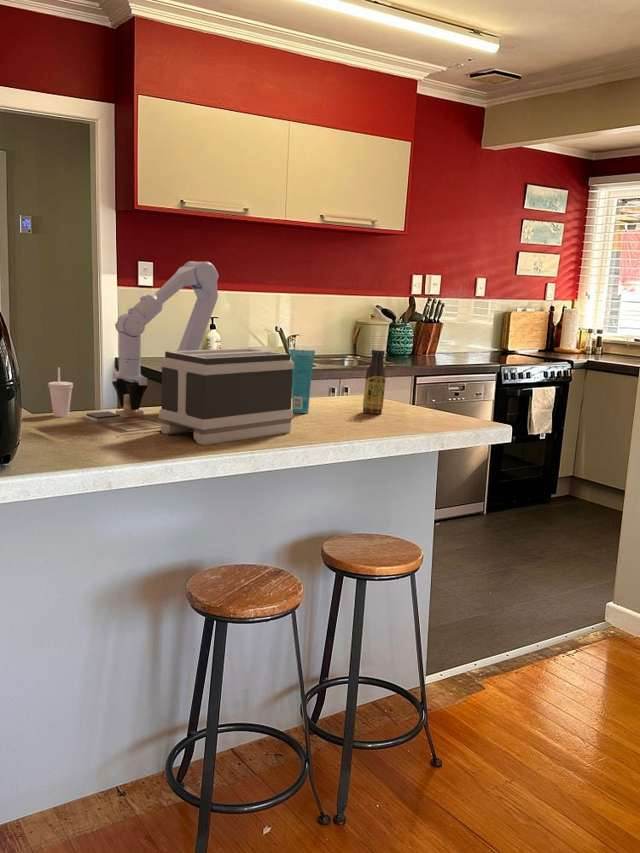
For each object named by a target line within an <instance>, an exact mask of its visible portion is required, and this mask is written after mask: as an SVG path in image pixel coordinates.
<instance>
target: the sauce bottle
mask: <svg viewBox="0 0 640 853" xmlns="http://www.w3.org/2000/svg"><path fill="white" fill-rule="evenodd" d="M385 353H386V352H385V350H384V349H379V348H378V349H377V348H376V349H375V348H373V349H371V361H370V364H369V366H368V368H367V369H366V372H365V373H366V374H365V375H366V376H365V379H364V381H365V384H364V393H363V400H362V412H363V413H365V414H368V415H369V414H371V415H381V414H382V412H383V408H384V399H385V389H386V377H387V376H386V368H385V366H384V359H385V358H384V356H385V355H386V354H385Z"/></svg>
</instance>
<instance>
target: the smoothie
mask: <svg viewBox="0 0 640 853" xmlns="http://www.w3.org/2000/svg"><path fill="white" fill-rule="evenodd" d="M47 386H48V388H49V391H50V392H49V394H50V400H51V407H52V414H53V417H56V418H67V417H69V415H70V408H71V407H70V406H71V401H72V400H71V399H72V390H73V388H74V383H73V382H71V381H61V366H60V367H57V381H51V382H50V381H49V382H48V384H47Z"/></svg>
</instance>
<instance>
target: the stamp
mask: <svg viewBox="0 0 640 853" xmlns="http://www.w3.org/2000/svg"><path fill="white" fill-rule="evenodd" d="M115 413H116V414H119V415H120V416H123V419H129V418H138V417H144V415H145V414H144V413H145V411H144V410H141V409H139V410H131V407H130V397H129V394H125V395H124V407H123V409H117V410H115Z"/></svg>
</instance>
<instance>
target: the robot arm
mask: <svg viewBox="0 0 640 853" xmlns="http://www.w3.org/2000/svg"><path fill="white" fill-rule="evenodd" d="M219 276H220V275H219V273H218V270H217V269H216V267H215V265H214V264H213V263H211V262H209V261H193V260H191V261H187V262H186V263H184V264H183V266H180V267H179V268H178V269H177V270H176V272H175V273H174V274H173V275H172V276H171V277H170V278H169V279H168V280H167V281H166V282H165V283H164V284H163V285H162V286H161V287H160V288H159V289H158V290H157V291H156V292H155V293H154V294H146V295H141V297H139V299H140V300H139V302H138V303H136V304H135V305H134V306H133V307H129V308H128V309H127V313H123V314H121V315H119V317H118V318H117V319H116V322H115V324H114V326H115V330H116V331H117V332H118V371H117V370H116V371H112V379H113V381H111V384H112V385H113V387H114V389H115V391H116V394H117V398H118V402H119V406H120V408H124V395H125V394H129V397H130V407H131V410H140V406H141V403H142V399H143V396H144V394H145V392H146V390H147V388H148V378H147V377H145V376H144V375H142V373H141V371H142V370H141V368H142V367H141V361H142V359H141V356H142V355H141V348H142V347H141V346H142V345H141V343H142V342H141V337H142V336H141V334H143V333H144V331H145V329H146V328H145V327H146V325H148V324H149V323H150V322H151V321H152V320H153V319H154V318H156V317H157V315H159V314H160V313H161V312H162V310H163V304H164V303H166V302H167V301H168V300H169V299H170V298H172V297H173V296H175V294H176V293H178V292H179V291H180V290H181V289H183V288H184V287H190V288H191V289H192V290H193V292H194V294H195V296H196V300H195V303H194V305H193V309H192V311H191V314H190V316H189V319H188V322H187V324H186V327H185V329H184V333H183V335H182V337H181V340H180V344H179V345H178V348H177V349H176V351H190V350H200V346H201V343H202V341H203V338H204V336H205V333H206V331H207V328H208V325H209V323H210V320H211V317H212V314H213V312H214V309H215V306H216V304H217V301H218V298H219V295H218V280H219ZM114 379H115V380H114Z"/></svg>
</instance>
